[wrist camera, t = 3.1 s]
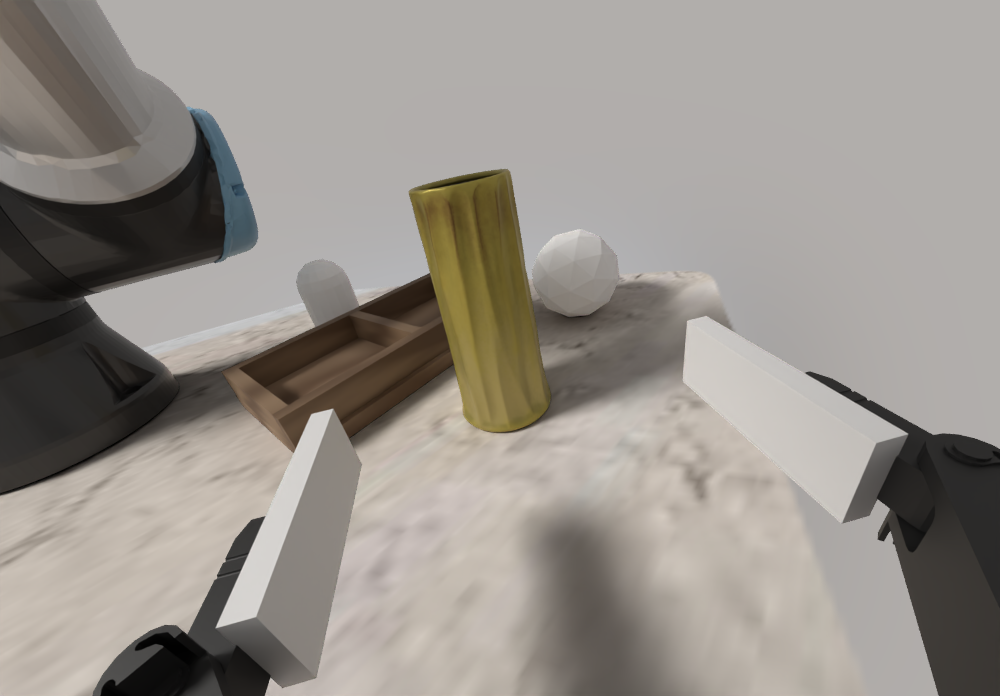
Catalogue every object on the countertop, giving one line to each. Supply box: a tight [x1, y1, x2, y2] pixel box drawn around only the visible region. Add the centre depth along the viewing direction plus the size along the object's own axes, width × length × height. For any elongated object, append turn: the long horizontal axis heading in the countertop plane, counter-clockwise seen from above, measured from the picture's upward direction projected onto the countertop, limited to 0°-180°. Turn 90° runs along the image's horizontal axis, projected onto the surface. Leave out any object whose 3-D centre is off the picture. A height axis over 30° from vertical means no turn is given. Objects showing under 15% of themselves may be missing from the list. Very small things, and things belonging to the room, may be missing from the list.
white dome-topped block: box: [296, 260, 359, 327], centre depth 42 cm, size 5×5×8 cm
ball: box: [532, 229, 620, 317], centre depth 34 cm, size 8×8×8 cm
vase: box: [409, 169, 551, 432], centre depth 22 cm, size 6×6×14 cm
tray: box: [222, 273, 454, 453], centre depth 34 cm, size 13×23×4 cm, turn 140°
